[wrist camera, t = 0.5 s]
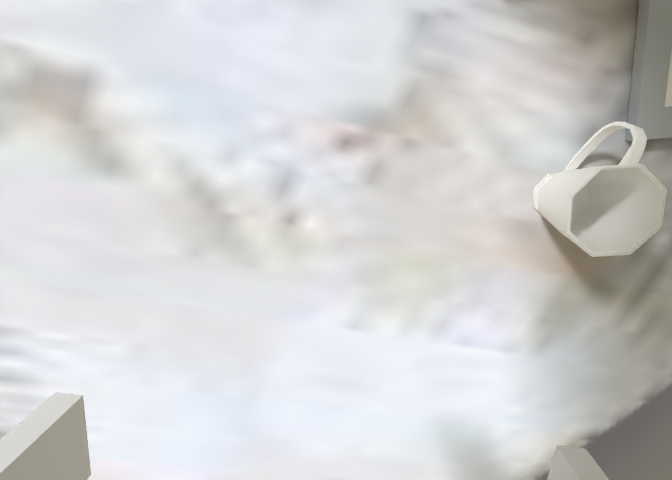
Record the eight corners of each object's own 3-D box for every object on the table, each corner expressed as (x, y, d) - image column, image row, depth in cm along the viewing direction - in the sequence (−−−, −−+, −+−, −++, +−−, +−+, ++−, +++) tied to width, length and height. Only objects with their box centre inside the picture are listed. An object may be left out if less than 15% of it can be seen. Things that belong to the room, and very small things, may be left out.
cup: (503, 219, 35) (547, 242, 27) (552, 112, 32) (616, 102, 24) (573, 243, 35) (637, 272, 27) (628, 138, 32) (715, 136, 25)
